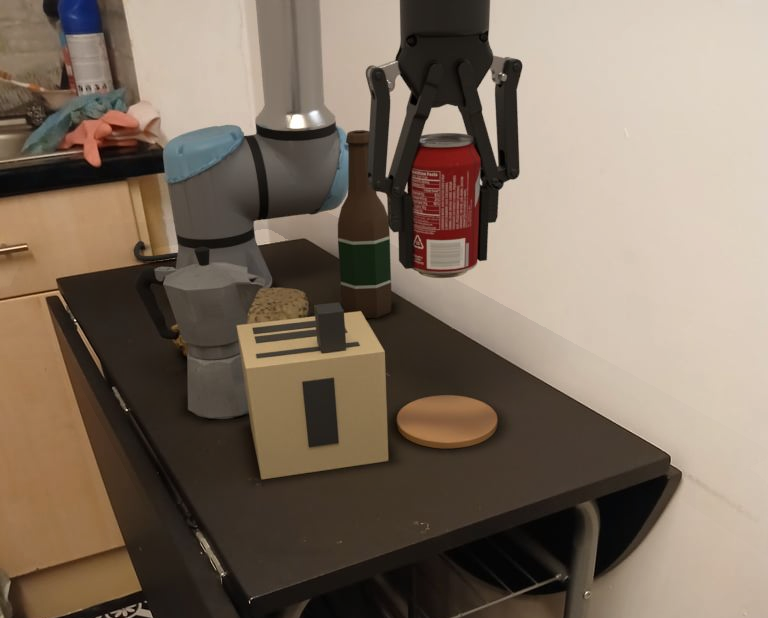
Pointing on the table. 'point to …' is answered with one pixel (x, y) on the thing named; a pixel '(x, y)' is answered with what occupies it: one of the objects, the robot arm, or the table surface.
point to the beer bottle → (363, 238)
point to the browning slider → (330, 327)
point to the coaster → (447, 421)
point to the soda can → (445, 205)
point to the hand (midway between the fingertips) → (442, 260)
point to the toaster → (314, 396)
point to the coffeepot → (206, 328)
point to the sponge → (267, 309)
